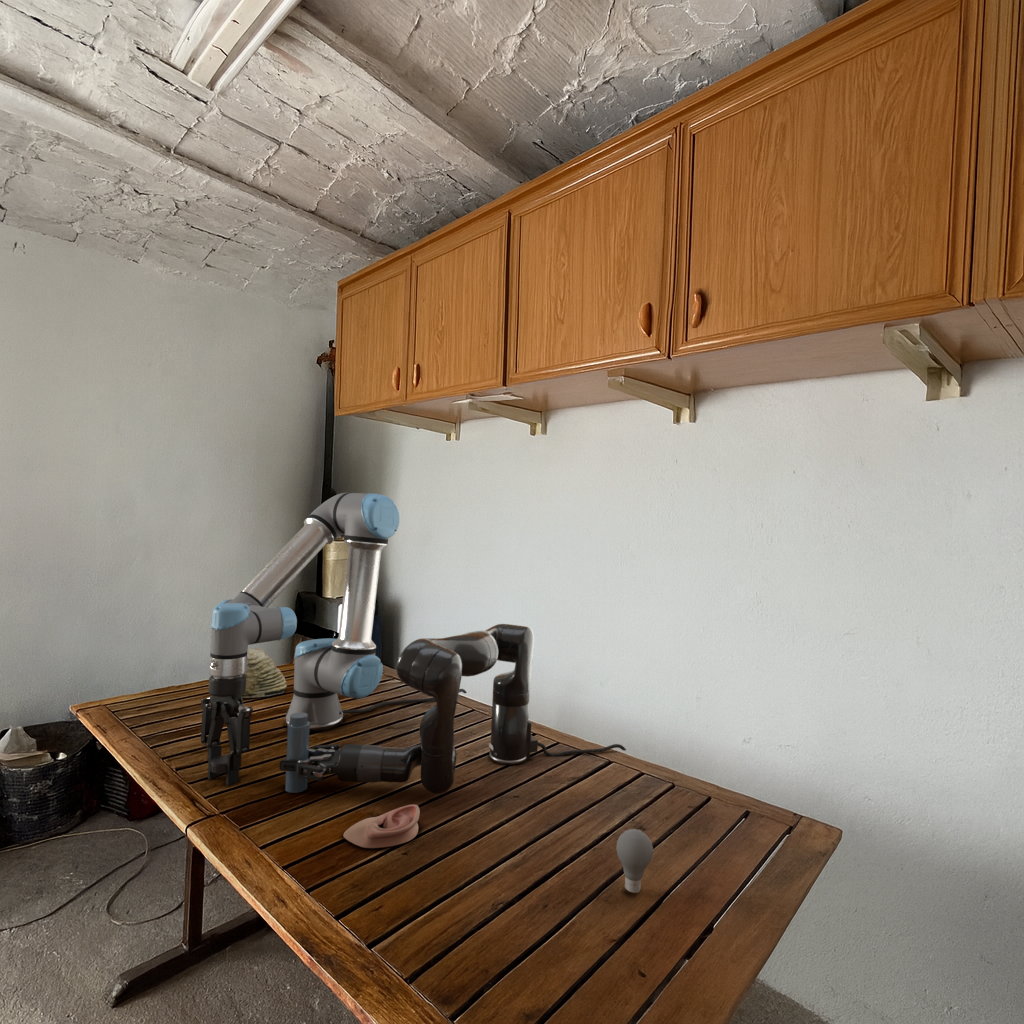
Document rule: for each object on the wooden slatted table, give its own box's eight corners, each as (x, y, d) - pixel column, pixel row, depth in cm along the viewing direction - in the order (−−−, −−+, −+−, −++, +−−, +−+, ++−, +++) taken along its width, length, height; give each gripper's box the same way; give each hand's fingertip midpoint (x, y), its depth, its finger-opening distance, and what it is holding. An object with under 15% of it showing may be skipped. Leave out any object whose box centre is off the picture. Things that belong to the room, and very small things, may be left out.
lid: (212, 764, 141) (212, 755, 141) (237, 763, 143) (237, 753, 143) (208, 774, 136) (208, 764, 136) (234, 772, 138) (234, 763, 138)
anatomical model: (336, 822, 116) (363, 794, 127) (335, 843, 116) (362, 813, 127) (404, 832, 113) (426, 803, 124) (403, 854, 113) (425, 823, 124)
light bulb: (610, 879, 108) (613, 822, 108) (644, 879, 109) (647, 822, 109) (619, 902, 102) (622, 840, 102) (655, 901, 103) (658, 840, 103)
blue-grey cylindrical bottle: (304, 792, 135) (307, 718, 135) (282, 793, 135) (285, 718, 134) (309, 783, 140) (311, 711, 139) (287, 783, 139) (290, 711, 139)
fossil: (218, 695, 195) (220, 647, 195) (278, 685, 208) (279, 640, 207) (228, 703, 189) (230, 653, 188) (289, 692, 201) (290, 645, 201)
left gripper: (184, 671, 140) (180, 776, 140) (243, 685, 132) (238, 796, 132) (214, 664, 147) (209, 764, 147) (271, 677, 139) (266, 783, 139)
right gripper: (371, 733, 144) (296, 730, 144) (355, 759, 130) (272, 755, 130) (370, 766, 144) (295, 763, 144) (354, 795, 130) (271, 792, 130)
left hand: (223, 779), depth 140 cm, fingers closed on lid, 5 cm apart
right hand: (285, 759), depth 137 cm, fingers closed on blue-grey cylindrical bottle, 4 cm apart
